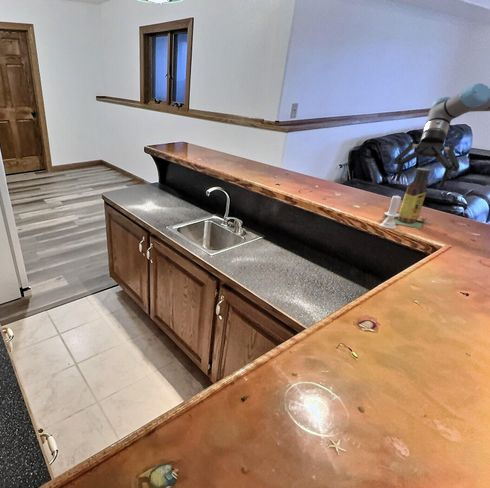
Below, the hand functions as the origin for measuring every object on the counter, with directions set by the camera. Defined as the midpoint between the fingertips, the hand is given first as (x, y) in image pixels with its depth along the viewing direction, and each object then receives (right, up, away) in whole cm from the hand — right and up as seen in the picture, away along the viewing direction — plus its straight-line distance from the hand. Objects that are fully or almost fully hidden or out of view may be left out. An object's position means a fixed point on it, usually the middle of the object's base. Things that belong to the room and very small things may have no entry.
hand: (419, 182), depth 129 cm
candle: (-11, -16, 0) cm, 20 cm away
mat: (-3, -14, +5) cm, 15 cm away
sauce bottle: (-2, -14, +4) cm, 15 cm away
